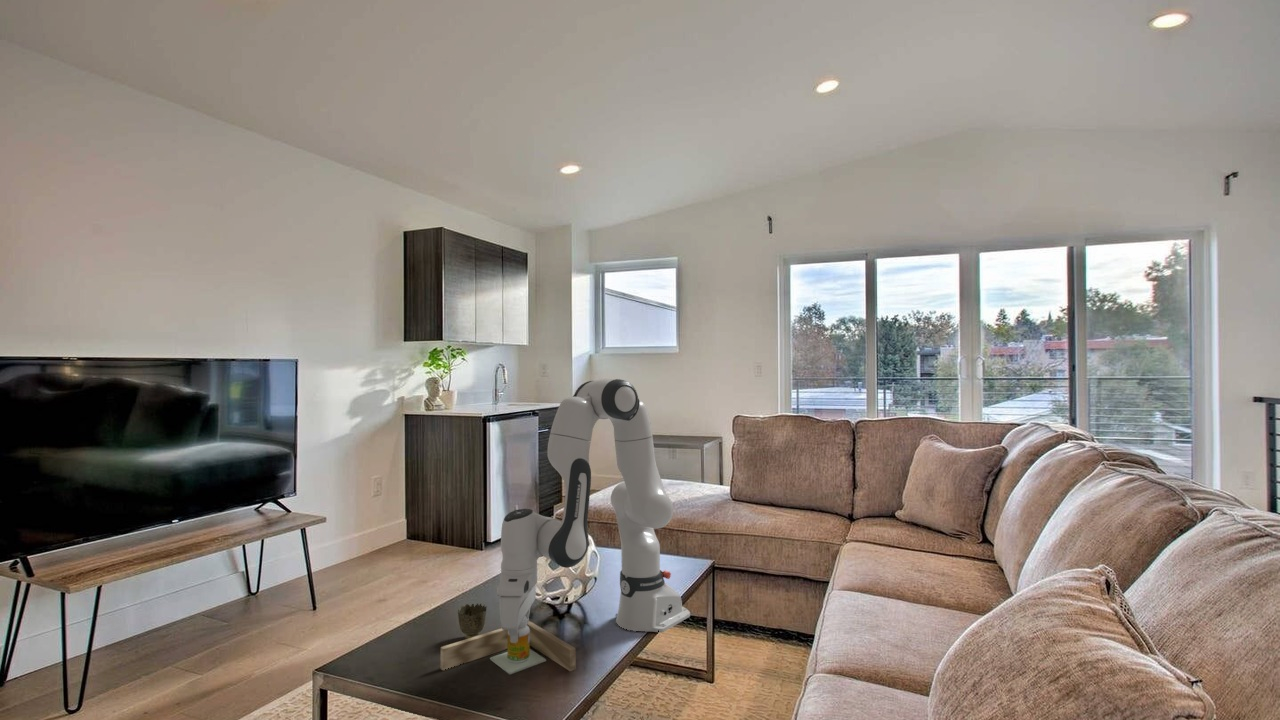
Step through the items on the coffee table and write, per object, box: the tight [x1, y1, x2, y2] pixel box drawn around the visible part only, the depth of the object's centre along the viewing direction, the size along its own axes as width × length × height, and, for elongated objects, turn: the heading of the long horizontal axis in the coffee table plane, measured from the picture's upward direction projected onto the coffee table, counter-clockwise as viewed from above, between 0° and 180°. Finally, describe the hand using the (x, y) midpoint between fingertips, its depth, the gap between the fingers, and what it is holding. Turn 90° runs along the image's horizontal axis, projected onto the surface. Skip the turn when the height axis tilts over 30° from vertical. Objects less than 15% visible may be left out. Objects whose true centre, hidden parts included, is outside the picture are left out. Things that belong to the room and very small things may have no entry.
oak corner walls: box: [439, 620, 576, 672], centre depth 141 cm, size 24×22×5 cm
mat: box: [489, 648, 547, 675], centre depth 145 cm, size 10×10×1 cm
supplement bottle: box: [506, 616, 531, 663], centre depth 145 cm, size 5×5×10 cm
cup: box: [457, 603, 487, 639], centre depth 158 cm, size 8×7×8 cm
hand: (519, 632), depth 146 cm, fingers open, 8 cm apart
